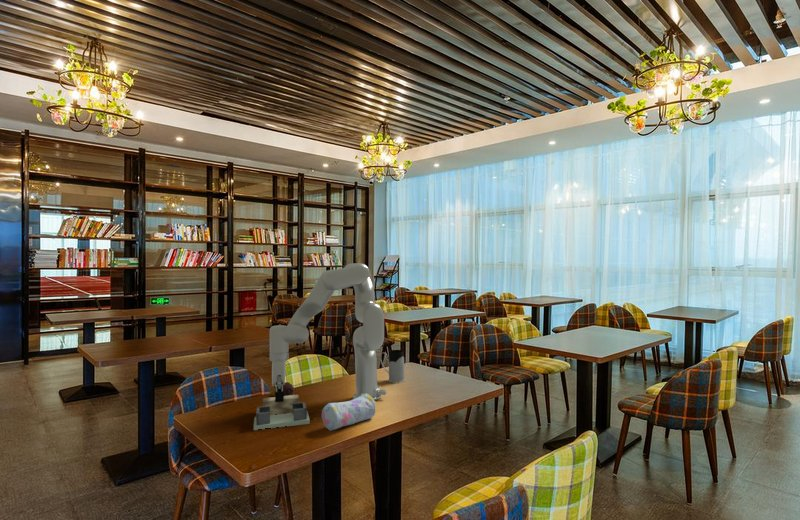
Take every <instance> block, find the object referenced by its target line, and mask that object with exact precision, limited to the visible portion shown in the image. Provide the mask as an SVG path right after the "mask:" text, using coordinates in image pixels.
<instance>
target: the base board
mask: <svg viewBox="0 0 800 520" xmlns="http://www.w3.org/2000/svg"><path fill="white" fill-rule="evenodd" d="M310 422H311V420H310V416H309V412H308V411H307V419H305V420H296V421H294V415H293V413H286V414H277V415H270V424H262V425H257V422H256V416H254V419H253V431H259V430H258V429H262V430H266V429H265V428H271V429H277V428H276V427H279V428H285V426H287V427H294V426H302V425H303V426H304V425H309V424H311V423H310Z"/></svg>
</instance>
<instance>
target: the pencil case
mask: <svg viewBox="0 0 800 520" xmlns="http://www.w3.org/2000/svg"><path fill="white" fill-rule="evenodd" d="M376 408H377V407H376V400H374V399H373V398H372V397H371V396H370V395H369V394H367V393H365V394H363V393H362V394H361V395H360V396H358V397H357V398H355V399H353V398H352V399H351V400H347V401H341V402H339V401H338V402H329V403H327V404H326V405H325V406H324V407H323V408H322V410H321V419H322V422H323V425H324V427H325V428H326V429H328V431H330V432H332V431H335V430H338V429H340V428H343V427H348V426H351V425H354V424H357V423H359V422H363V421H367V420H369V419H371V418H373V417H374V416H375V415H376Z"/></svg>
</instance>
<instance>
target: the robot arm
mask: <svg viewBox="0 0 800 520" xmlns="http://www.w3.org/2000/svg"><path fill="white" fill-rule="evenodd" d="M370 275H371V274H370V269H369V267H368V266H367V265H366V264H364V263H361V262H360V263H359V262H358V263H356V262H355V263H352V262H351V263H348V264H346V265H345V266H344V267H342V268H338V269H328V270H324V271H323V272H322V273H321V274H320V276H319V277H318V279H317V281H316V282H315V284H314V286H313V287H312V289H311V290H310V292H309V294H308V295H307V297H306V299H305V300H304V301H303V302H302V303H301V305H300V306H299V307H298V308H297V310H296V311H295V312H294V314H293V315H292V317H291V318H290V321H289V322H288V324H287V325H283V324H282V325H272V326H271V327H270V328H269V361H270V362H272V363H271V386H272V387H274V395H275V396H274V397H275V402H283V401H284V391H283V385H284V384H285V383H286V362H287V361H288V360H289V358H290V357H289V354H290V353H289V351H290V350H289V349H290V348H289V347H290V346H289V344H303V343H305V342H306V341H307V340H308V339H309V335H310V333H309V332H310V331H309V330H308V328H307V326H308V324H309V323H310V321H312V319H313V318H314V317H315V316H316V315H318V314H319V313H321V312H322V311H323V310H324V309H325V308H326V306H327V304H328V303H329V302H330V299H331V298H332V296H333V295H334V292H335V291H340V290H343V289H347V288H351V287H353V289H354V296H355V298H354V300H355V302H354V303H355V306H354V307H355V310H354V315H355V318H356V319H355V320H357V321H358V322H360V323H361V324H363V325H362V326H361V325H360V326H359V327H358V328H356V329H355V330H354V332H353V335H352V343H353V349H354V362H355V363H354V365H355V366H354V367H355V369H354V370H355V371H354V373H355V393H354V394H353V395H352V400H353V399H355V398H357V397H358V396H360V395H361V394H362V393H363V394H365V393H367V394H369V395H370V396H371V397H372V398H373V399H374V401H377V400H380V399H381V397H382V396H386V395H387V390H386V389H381V388H380V385H378V365H377V363H378V361H377V360H378V358H377V357H378V356H377V351H378V350H379V349H381V348H382V346H383V344H384V340H385V314H384V310H383V308H382V307H381V306H380V305H379V304H378V303H376V302H375V287H374V284H373V280H371V278H370Z"/></svg>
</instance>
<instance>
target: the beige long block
mask: <svg viewBox="0 0 800 520" xmlns="http://www.w3.org/2000/svg"><path fill="white" fill-rule="evenodd" d="M292 403H300V398H299V394H293V395H289V396H284V401H283V402H275V396H273V397H264V398H262V407H263V406H270V415H275V414H284V413H292V412H293V407H292Z"/></svg>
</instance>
